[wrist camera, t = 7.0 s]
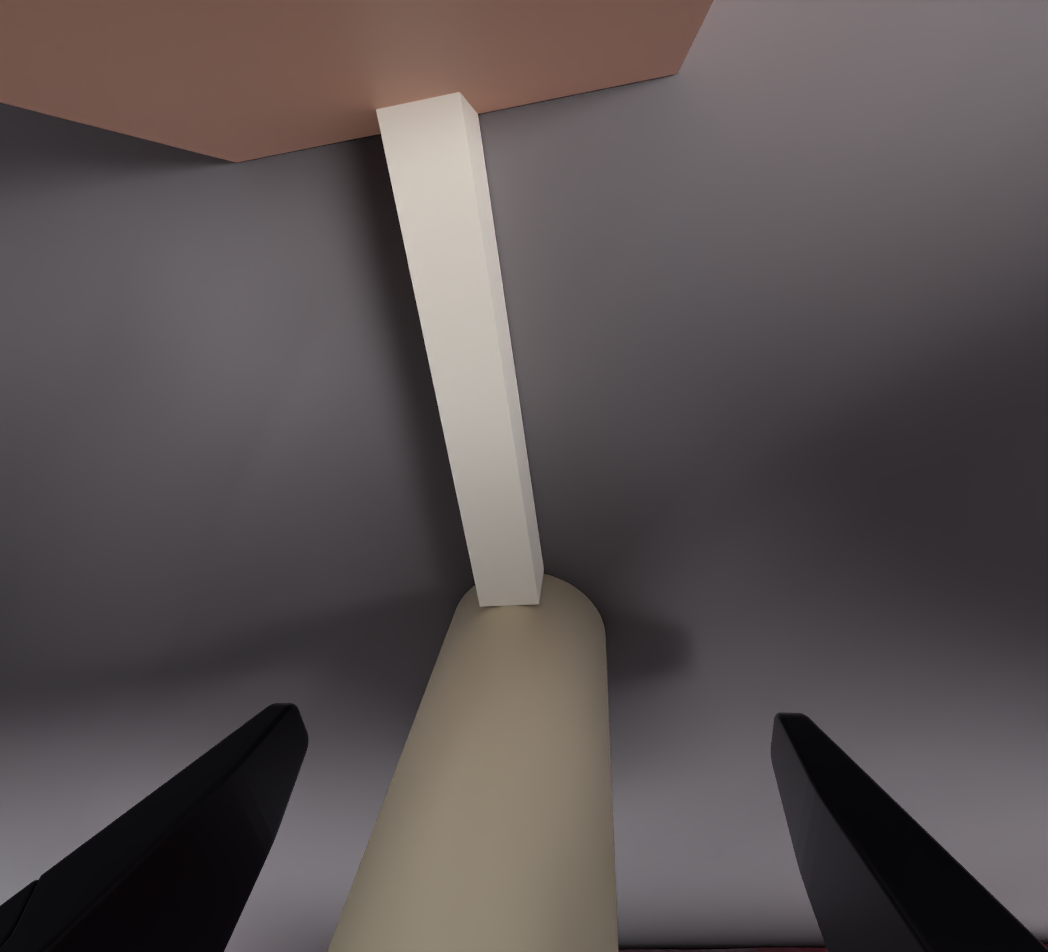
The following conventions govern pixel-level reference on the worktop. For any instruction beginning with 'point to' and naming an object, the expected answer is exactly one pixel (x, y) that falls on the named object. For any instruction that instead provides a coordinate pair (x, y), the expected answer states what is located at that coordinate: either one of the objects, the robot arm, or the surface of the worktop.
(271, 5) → the toy mallet
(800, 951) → the soda box
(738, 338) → the worktop surface
